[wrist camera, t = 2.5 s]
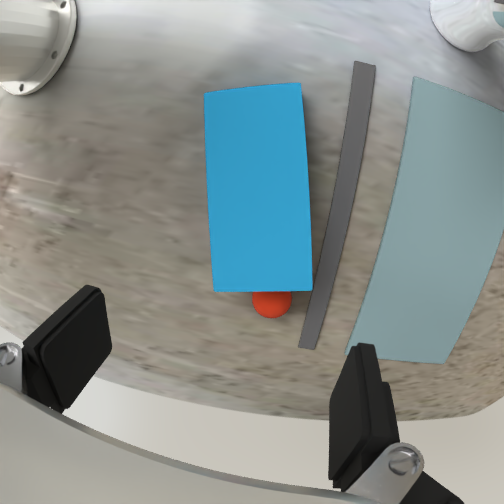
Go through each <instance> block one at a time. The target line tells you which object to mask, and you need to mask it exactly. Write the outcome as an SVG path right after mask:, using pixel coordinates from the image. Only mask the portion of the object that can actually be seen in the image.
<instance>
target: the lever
mask: <svg viewBox="0 0 504 504" xmlns="http://www.w3.org/2000/svg"><path fill="white" fill-rule="evenodd" d="M204 118H205V150H206V174H207V195H208V214H209V231H210V246H211V261H212V275H213V288H214V291H215V292H253V295H252V303H253V305H254V308H255V310H256V311H257V312H258V313H259V314H260V315H262V316H264V317H267V318H277V317H280V316H282V315H283V314H285V313H286V312H287V311H288V309H289V307H290V305H291V301H292V296H291V292H290V291H311V290H312V246H311V219H310V198H309V180H308V164H307V149H306V136H305V124H304V113H303V102H302V92H301V83H285V84H272V85H261V86H251V87H243V88H235V89H227V90H220V91H213V92H207V93H204Z"/></svg>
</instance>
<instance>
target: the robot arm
mask: <svg viewBox="0 0 504 504" xmlns="http://www.w3.org/2000/svg"><path fill="white" fill-rule="evenodd" d="M76 18H77V15H76V5H75V2H74V0H0V84H1V86H2V87H3V89H4V90H6V91H7V92H8V93H10V94H13V95H26V94H30V93H33V92H35V91H37V90H38V89H40V88H41V87H43V86H44V85H45V84H46V83H47V82H48V81H49V80H50V79H51V78H52V77H53V75H54V74H55V73H56V72H57V70H58V69H59V67H60V65H61V64H62V62H63V61H64V59H65V56H66V54H67V52H68V50H69V48H70V45H71V42H72V40H73V36H74V32H75V27H76ZM23 345H24V347H23V348H22V349H21V348H20V346H18V345H17V344H14V343H4V344H1V345H0V504H464V502H463V501H462V500H461V499H460V498H459V497H457V496H456V495H454V494H453V493H452V492H450V491H449V490H448V489H446V488H445V487H444V486H442V485H441V484H439V483H438V482H437V481H435V480H434V479H433V478H431V477H430V476H429V475H428V474H426V473H425V472H424V471H423V468H424V459H423V456H422V454H421V453H420V451H419V450H418V449H417V448H416V447H414V446H412V445H410V444H408V443H403V442H402V443H400V439H399V433H398V426H397V421H396V415H395V410H394V404H393V399H392V394H391V389H390V385H389V383H388V382H382V379H381V374H380V369H379V364H378V359H377V354H376V349H375V346H374V344H368V343H360V342H359V343H358V344H357V345H356V346H352V347H351V349H350V351H349V354H348V356H347V359H346V361H345V364H344V366H343V369H342V371H341V374H340V376H339V378H338V381H337V383H336V385H335V388H334V390H333V392H332V395H331V398H330V404H329V412H330V416H329V423H330V425H329V471H328V478H329V480H333V488H341V492H338V491H333V490H326V489H318V488H311V487H303V486H295V485H288V484H281V483H274V482H269V481H263V480H257V479H252V478H246V477H241V476H236V475H231V474H227V473H223V472H219V471H214V470H210V469H206V468H202V467H199V466H195V465H191V464H188V463H184V462H181V461H178V460H174V459H171V458H168V457H164V456H162V455H158V454H155V453H153V452H149V451H147V450H144V449H141V448H138V447H136V446H133V445H130V444H127V443H125V442H122V441H120V440H118V439H115V438H113V437H110V436H108V435H105V434H103V433H101V432H98V431H96V430H94V429H91V428H89V427H87V426H85V425H83V424H81V423H79V422H77V421H74V420H72V419H70V418H68V417H66V416H64V415H62V413H63V411H64V410H65V409H68V408H69V407H70V406H71V405H72V404H73V402H74V401H75V399H76V398H77V397H78V395H79V394H80V393H81V391H82V390H83V388H84V387H85V386H86V384H87V383H88V382H89V380H90V379H91V378H92V376H93V375H94V374H95V372H96V371H97V370H98V368H99V367H100V366H101V365H102V363H103V362H104V361H105V359H106V358H107V357H108V355H109V354H110V352H111V350H112V342H111V336H110V331H109V325H108V318H107V312H106V305H105V298H104V294H103V293H102V292H101V290H100V289H99V288H97V287H94V286H90V285H85V286H84V287H83V288H81V289H80V290H79V291H78V292H77V293H76V294H75V295H73V296H72V297H71V298H70V299H69V300H68V301H67V302H65V303H64V304H63V305H62V306H61V307H60V308H59V309H58V310H57V311H55V312H54V313H53V314H52V315H51V316H50V317H49V318H48V319H47V320H46V321H45V322H43V323H42V324H41V325H40V326H39V327H38V328H37V329H36V330H35V331H34V332H33V333H32V334H31V335H30V336H29V337H28V338H27V339H25V340H24V341H23ZM49 407H51V408H49Z"/></svg>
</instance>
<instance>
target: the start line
mask: <svg viewBox="0 0 504 504" xmlns="http://www.w3.org/2000/svg"><path fill="white" fill-rule="evenodd" d="M374 74H375V65H371V64H367V63H362V62H358V61H354V69H353V77H352V84H351V92H350V99H349V106H348V113H347V119H346V126H345V132H344V138H343V144H342V150H341V156H340V162H339V168H338V173H337V179H336V184H335V189H334V194H333V200H332V205H331V210H330V215H329V219H328V224H327V229H326V234H325V238H324V243H323V247H322V252H321V256H320V261H319V265H318V270H317V274H316V278H315V282H314V286H313V291H312V295H311V299H310V303H309V307H308V311H307V315H306V318H305V322H304V326H303V330H302V334H301V337H300V341H299V345H298V347H299V348H305V349H312V350H314V348H315V345H316V342H317V339H318V335H319V332H320V329H321V325H322V322H323V318H324V315H325V312H326V308H327V305H328V301H329V297H330V294H331V290H332V287H333V283H334V279H335V275H336V271H337V268H338V264H339V260H340V256H341V252H342V248H343V244H344V239H345V235H346V231H347V227H348V222H349V218H350V213H351V209H352V204H353V199H354V195H355V190H356V185H357V180H358V175H359V170H360V164H361V159H362V153H363V148H364V142H365V136H366V130H367V124H368V118H369V111H370V104H371V97H372V90H373V82H374Z"/></svg>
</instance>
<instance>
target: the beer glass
mask: <svg viewBox="0 0 504 504" xmlns="http://www.w3.org/2000/svg"><path fill="white" fill-rule="evenodd" d="M430 14H431V17H432V20H433V22H434V24H435V26H436V28H437V29H438V31H439V32H440V34H441V35H442V36H443V37H444V38H445V39H446V40H447V41H448V42H449V43H451V44H452V45H453V46H455V47H457V48H459V49H461V50H464V51H468V52H477V51H481V50H483V49H484V48H486V47H487V46H489V45H490V44H491V43H492V42H494V41H497V40H504V0H431V1H430Z"/></svg>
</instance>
